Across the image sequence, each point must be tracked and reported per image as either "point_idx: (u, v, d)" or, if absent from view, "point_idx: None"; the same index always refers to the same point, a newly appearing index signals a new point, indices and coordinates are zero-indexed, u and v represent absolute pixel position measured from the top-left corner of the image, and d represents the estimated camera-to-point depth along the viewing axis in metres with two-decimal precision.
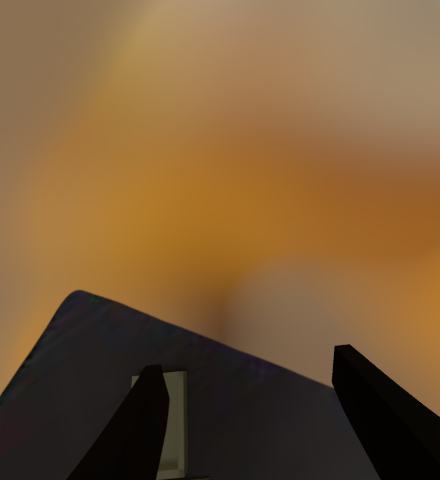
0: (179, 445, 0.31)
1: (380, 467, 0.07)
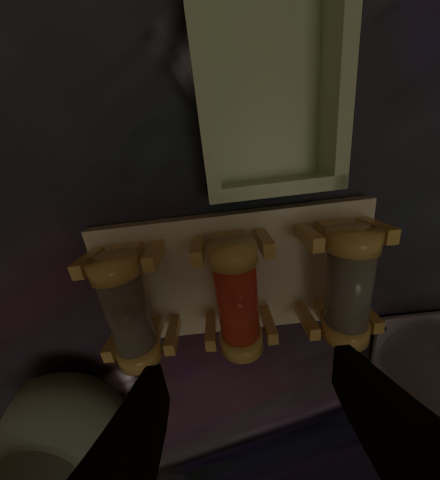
0: (341, 128, 0.12)
1: (380, 467, 0.07)
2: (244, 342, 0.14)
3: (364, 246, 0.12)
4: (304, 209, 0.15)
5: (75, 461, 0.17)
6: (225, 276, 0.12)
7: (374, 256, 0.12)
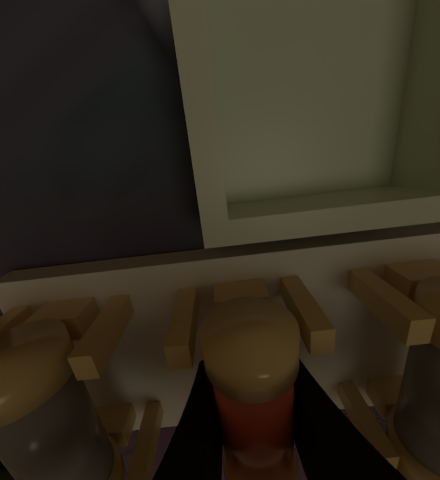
0: None
1: (308, 474, 0.07)
2: None
3: None
4: (367, 246, 0.09)
5: None
6: (237, 401, 0.06)
7: None
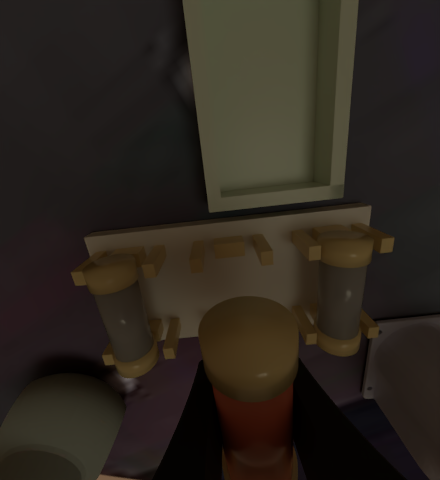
0: (336, 140, 0.12)
1: (308, 474, 0.07)
2: None
3: (348, 255, 0.12)
4: (301, 216, 0.16)
5: (77, 460, 0.17)
6: (235, 399, 0.06)
7: (359, 265, 0.12)
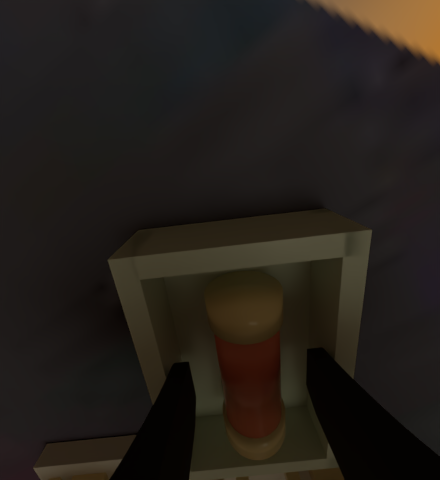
0: None
1: (345, 470, 0.07)
2: (262, 431, 0.09)
3: None
4: None
5: None
6: (235, 345, 0.08)
7: None
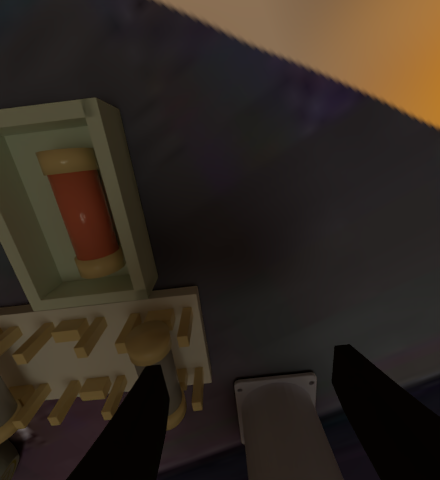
0: (127, 257, 0.14)
1: (380, 467, 0.07)
2: (106, 250, 0.14)
3: (134, 356, 0.14)
4: (135, 302, 0.18)
5: None
6: (69, 177, 0.12)
7: (146, 364, 0.14)
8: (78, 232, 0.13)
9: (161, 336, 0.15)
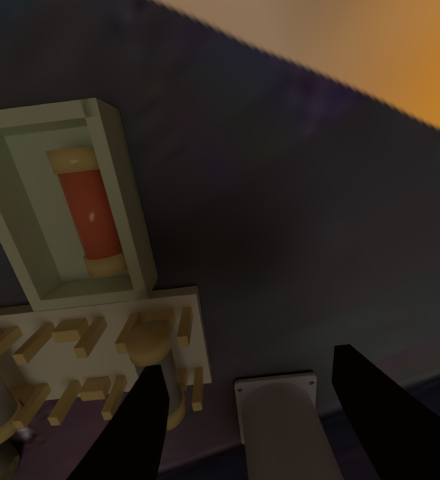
0: (127, 257, 0.14)
1: (380, 467, 0.07)
2: None
3: (134, 356, 0.14)
4: (135, 302, 0.18)
5: None
6: (90, 174, 0.13)
7: (146, 364, 0.14)
8: (97, 230, 0.14)
9: (161, 336, 0.15)
